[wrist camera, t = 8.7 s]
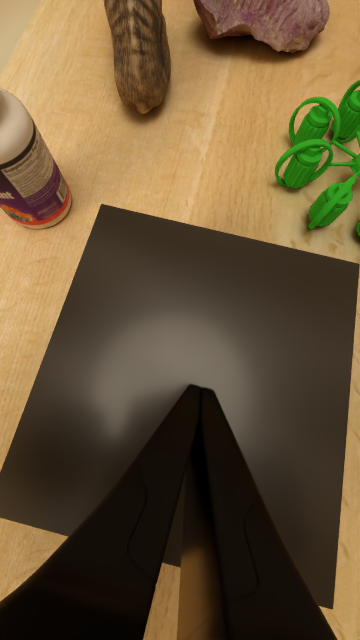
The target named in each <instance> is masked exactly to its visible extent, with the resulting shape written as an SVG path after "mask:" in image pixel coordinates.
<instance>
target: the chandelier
mask: <svg viewBox="0 0 360 640" xmlns="http://www.w3.org/2000/svg"><path fill="white" fill-rule="evenodd" d="M359 85H360V80H359V81H357V82H355V83H354V84H353V85H352V86H351V87H350V88H349V89H348V90H347V92H346V93H345V95H344V97H343V99H342V101H341V103H340V105H339V108H338V109H337V108H336V106H335V105H334V104H333V103H332V102H331V101H330V100H328V99H326V98H323V97H313V98H310V99H308V100H306V101H304V102H303V103H302V104H301V105H300V106H299V107H298V108H297V109H296V110H295V111H294V113H293V115H292V117H291V120H290V123H289V135H290V139H291V142H292V144H293V145H294V146H293V147H292V148H290V149H289V150H288V151H287V152H285V153H284V154H283V155H282V157H281V158H280V159H279V161H278V162H277V165H276V168H275V175H276V179H277V181H278V183H279V184H281V185H283V186H286V187H292V188H300V187H302V186H304V185H305V184H306V183H309V182H311V181H313V180H314V179H316V178H317V177H319V176H320V175H321V174H322V173H324V172H325V170H326V169H327V168H328V167H329V166H350V167H351V169H352V171H353V172H354V173H355V175H354V176H353V177H352V176H351V177H350V178H349V179H348V180H347V181H346V182H345V183H335V184H332V185H331V186H330V187H329V188H328V189H326V190H325V191H323V192H322V193H321V195H320V196H319V197H318V198H317V200H316V201H315V202H314V204H313V205H312V206H311V209H310V210H309V218H310V220H311V223H310V224H309V225H308V227H309V228H310V229H313V228H314V227H315V226H316V225H318V226H326V225H329V224H330V223H332V222H333V221H334V220H335V219H336V218H337V217H338V216H339V215H340V214H341V213H342V212H343V211H344V210H345V209H346V208H347V206H348V204H349V202H350V201H351V199H352V196H353V195H352V191H351V186H352V185H353V184H354V182H355V181H356V179H355V178H356V177H357V176H360V154H359V155H356V154H355V153H353V152H352V151H350V150H349V149H347V148H346V147H344V146H343V145H341V144H340V143H347V142H350V141H352V140H353V139H355V138H356V137H357V140H358V143H359V147H360V90H358V91H355V92H353V91H354V90H355V89H356V88H357V87H358V86H359ZM349 97H350V98H349ZM309 103H319V104H320V105H317V106H314V107H312V108H311V110H310V112H309V113H308V114H307V115H306V116H305V117H304V119H303V121H302V123H301V125H300V127H299V129H298V131H297V133H296V135H295V133H294V120H295V117H296V115H297V113H298V111H299V109H300V108H301V107H303V106H304V105H306V104H309ZM332 115H333V118H334V120H333V122H332V125H331V129H332V132H333V133H334V136H333V138H332V140H331V142H330V143H328V142H327V141H325V140H322V138H323V136H324V134H325V133H326V131H327V129H328V127H329V123H330V121H331V119H332ZM342 131H343V132H342ZM348 136H349V137H348ZM342 137H343V138H344V137H348V138H347V139H345V140H344V139H343V138H342ZM335 140H337V141H338V142H340V143H338V142H337V141H335ZM332 144H334V145H335V146H337V147H338V148H340V149H341V150H343V151H344V152H346V153H347V154H349V155H350V156H352V157H353V159H352V160H351V162H342V163H331V162H332V159H333V152H332V148H331V145H332ZM320 146H321V147H324V148H322V149H320ZM326 150H328V151H329V156H328V158H327V160H326V162H325V163H324V165H323V166H322V167H321V168H320V169H319V170H317V171H316V172H315V170H316V169H317V167H318V165H319V162H320V159H321V157H322V152H324V151H326ZM293 154H294V155H293ZM291 155H293V156H292V158H291V160H290V162H289V164H288V166H287V168H286V170H285V173H284V180H283V179H281V178H280V177H279V175H278V172H279V169H280V167H281V166H282V164H283V163H284V162H285V161H286V160H287V159H288V158H289V157H290V156H291ZM314 172H315V173H314ZM356 230H357V233H358V235H359V236H360V221H359V223H358V225H357V229H356Z"/></svg>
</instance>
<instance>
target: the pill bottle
mask: <svg viewBox="0 0 360 640" xmlns="http://www.w3.org/2000/svg"><path fill="white" fill-rule="evenodd" d="M70 205H71V193H70V190H69V188H68V185H67V183H66V181H65V179H64V178H63V176H62V174H61V172H60V170H59V168H58V166H57V165H56V163H55V161H54V159H53V157H52V155H51V153H50V152H49V149H48V148H47V146H46V144H45V142H44V140H43V138H42V137H41V134H40V133H39V131H38V129H37V127H36V125H35V123H34V121H33V119H32V118H31V116H30V114H29V113H28V111H27V109H26V108H25V106H24V105H23V104H22V102H21V101H20V100H19V99H18V98H17V97H15V96H14V95H13V94H11V93H10V92H8V91H6V90H4V89H1V88H0V207H1V208H2V209H3V210H4V211H5V212H6V213H7V214H8V215H9V216H10V217H11V218H12V219H13V220H14V221H16V222H17V223H18V224H20V225H22V226H25V227H28V228H32V229H42V228H47V227H50V226H53V225H55V224H56V223H58V222H59V221H61V220H62V219H63V218H64V217H65V215H66V214H67V213H68V211H69V208H70Z"/></svg>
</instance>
